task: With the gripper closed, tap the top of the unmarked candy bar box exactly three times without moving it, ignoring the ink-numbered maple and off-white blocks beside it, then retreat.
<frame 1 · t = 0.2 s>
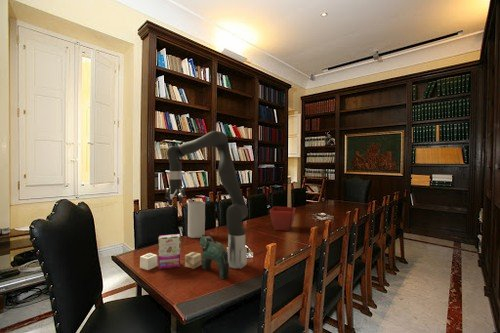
hand: (175, 204, 154), 29 cm above the table, fingers open, 8 cm apart
cylinder vase: (196, 235, 186), on the table
white block two: (148, 267, 131), on the table
maple block one: (193, 265, 133), on the table
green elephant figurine: (214, 272, 125), on the table
plant pot: (282, 229, 209), on the table
candy bar box: (169, 266, 132), on the table
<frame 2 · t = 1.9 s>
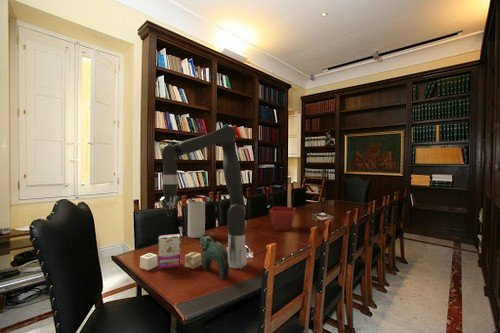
hand: (169, 215, 131), 27 cm above the table, fingers closed
nothing on the table moved.
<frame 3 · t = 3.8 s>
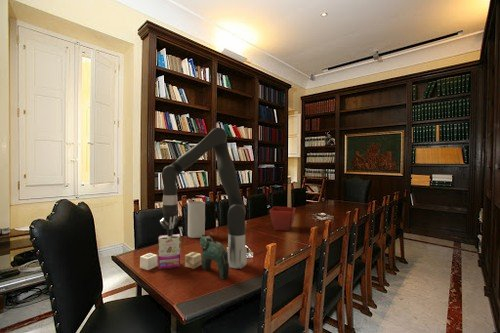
hand: (169, 235, 131), 16 cm above the table, fingers closed
candy bar box: (169, 266, 132), on the table, touching gripper
everything else where it was.
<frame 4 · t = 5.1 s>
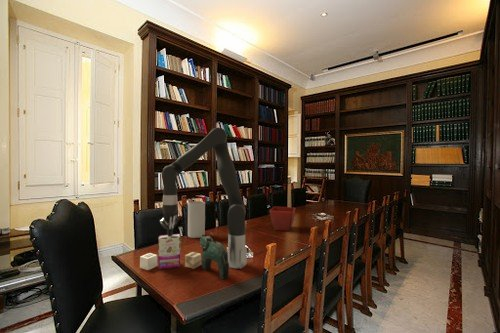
hand: (169, 235, 131), 16 cm above the table, fingers closed
nothing on the table moved.
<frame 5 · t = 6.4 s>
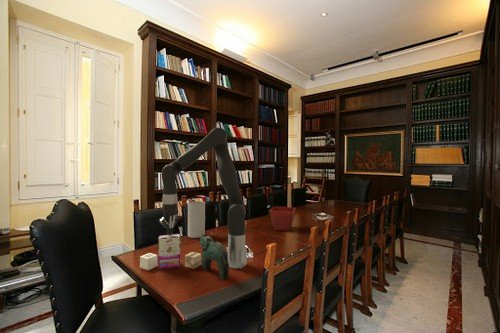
hand: (169, 234, 131), 17 cm above the table, fingers closed
candy bar box: (169, 266, 132), on the table
everything else where it was.
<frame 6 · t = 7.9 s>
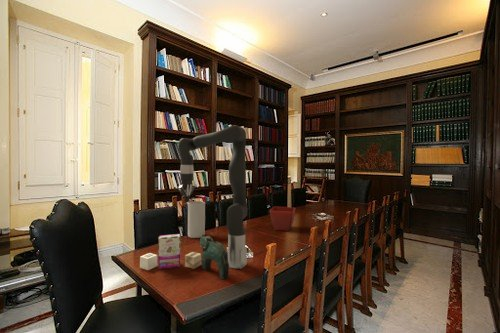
hand: (186, 202, 145), 32 cm above the table, fingers closed
nothing on the table moved.
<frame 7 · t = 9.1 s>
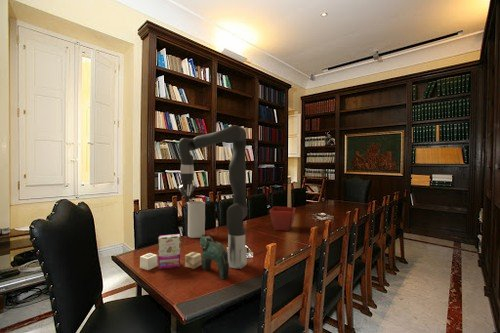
hand: (187, 202, 145), 32 cm above the table, fingers closed
nothing on the table moved.
at the end: candy bar box moved 0.2 cm from its start; candy bar box tilted 0°; maple block one moved 0.1 cm from its start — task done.
